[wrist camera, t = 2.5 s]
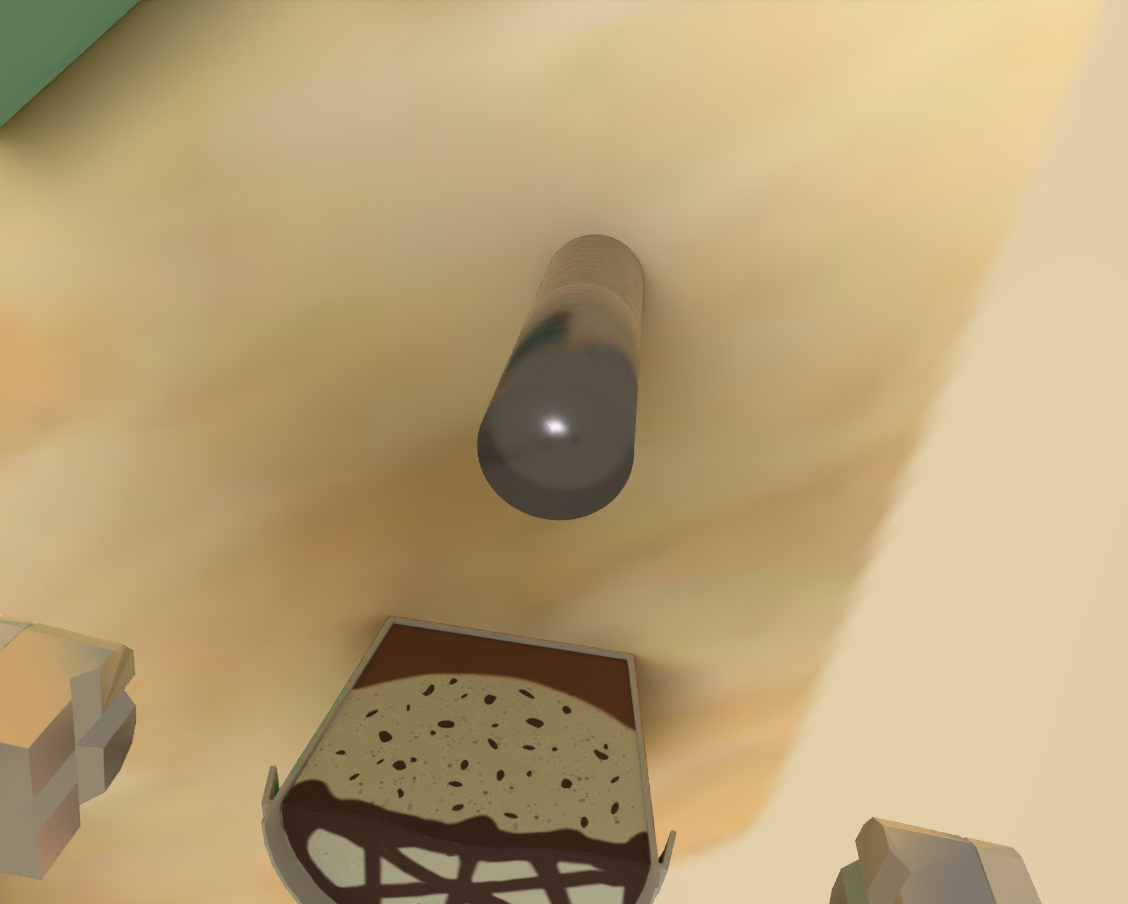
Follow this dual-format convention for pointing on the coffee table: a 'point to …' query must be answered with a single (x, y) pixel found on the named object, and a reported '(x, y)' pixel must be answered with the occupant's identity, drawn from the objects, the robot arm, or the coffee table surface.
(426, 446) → the coffee table surface
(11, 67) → the teal hinge knuckle plate
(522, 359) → the hinge pin
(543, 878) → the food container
